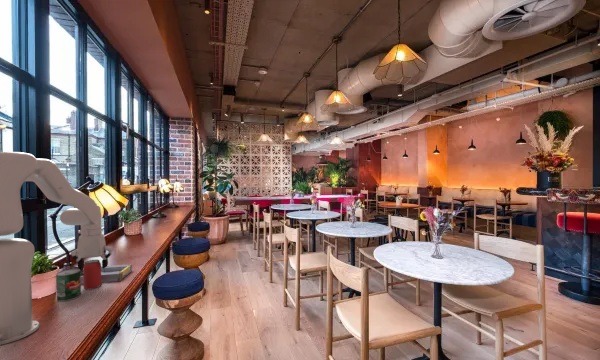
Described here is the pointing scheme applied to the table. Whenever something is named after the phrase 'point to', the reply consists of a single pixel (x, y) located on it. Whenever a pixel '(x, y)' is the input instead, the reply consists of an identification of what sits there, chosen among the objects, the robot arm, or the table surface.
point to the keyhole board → (113, 273)
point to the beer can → (92, 274)
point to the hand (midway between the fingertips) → (93, 268)
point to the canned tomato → (68, 284)
